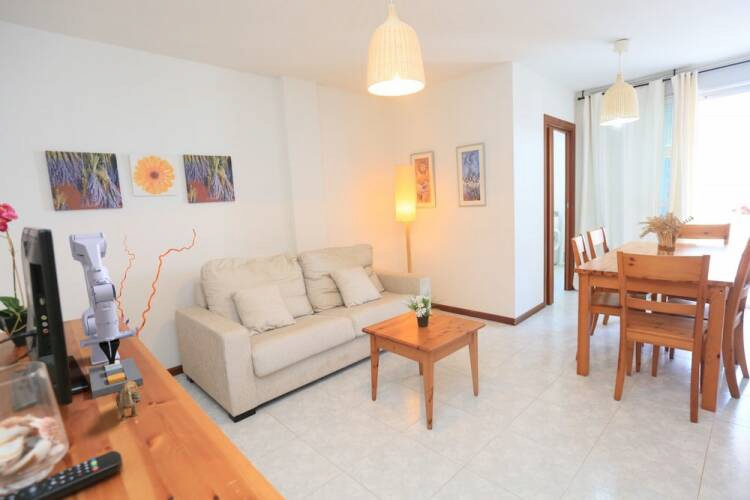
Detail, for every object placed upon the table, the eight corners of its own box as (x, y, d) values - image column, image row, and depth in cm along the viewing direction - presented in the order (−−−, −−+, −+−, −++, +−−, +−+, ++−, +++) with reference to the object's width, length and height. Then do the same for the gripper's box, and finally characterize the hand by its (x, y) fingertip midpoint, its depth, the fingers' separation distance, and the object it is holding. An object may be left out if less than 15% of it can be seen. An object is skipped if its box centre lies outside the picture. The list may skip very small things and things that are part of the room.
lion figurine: (145, 420, 94) (141, 385, 93) (119, 428, 91) (114, 392, 90) (140, 396, 106) (136, 365, 105) (117, 403, 103) (112, 371, 102)
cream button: (104, 370, 123) (103, 363, 123) (119, 366, 126) (118, 359, 126) (105, 374, 120) (104, 367, 120) (121, 370, 123) (120, 363, 122)
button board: (89, 373, 123) (88, 367, 122) (133, 363, 130) (132, 357, 130) (93, 398, 106) (92, 391, 106) (143, 384, 114) (142, 377, 113)
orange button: (108, 384, 113) (107, 376, 113) (124, 380, 116) (123, 372, 115) (109, 389, 110) (108, 381, 110) (126, 384, 113) (125, 376, 112)
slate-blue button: (106, 375, 118) (105, 367, 118) (121, 371, 121) (120, 363, 120) (107, 379, 115) (106, 371, 115) (123, 375, 118) (122, 367, 117)
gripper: (77, 330, 113) (84, 374, 115) (135, 319, 122) (140, 360, 124) (77, 325, 119) (83, 367, 121) (132, 315, 128) (137, 354, 130)
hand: (112, 363), depth 123 cm, fingers closed, pressing on cream button
